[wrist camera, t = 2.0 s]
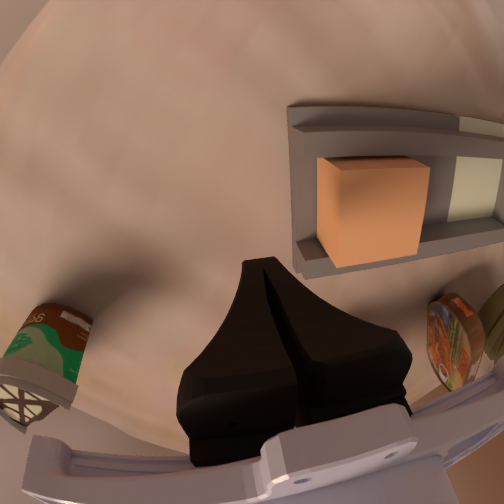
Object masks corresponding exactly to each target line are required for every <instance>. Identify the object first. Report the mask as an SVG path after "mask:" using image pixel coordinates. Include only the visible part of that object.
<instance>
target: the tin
mask: <svg viewBox="0 0 504 504" xmlns="http://www.w3.org/2000/svg"><path fill="white" fill-rule="evenodd" d="M485 341H486V340H485V332H484V328H483V325H482V322H481V320H480V318H479V316H478V314H477V313H476V311H475V310H473V308H472V307H471V306H470V305H469V304H468V303H467V302H466V301H465V300H464V299H463V298H462V297H460V296H459V295H458V294H456V293H448V294H446V295H444V296H442V297H441V298H439V299H438V300H436V301H433V302H432V303H430V305H429V307H428V327H427V353H428V357H429V360H430V363H431V365H432V368H433V370H434V372H435V374H436V375H437V377H438V379H439V380H440V382H441V383H442V385H443V386H444V387H445V388H446V389H447V390H448V391H449V392H452V391H454V390H456V389H458V388H460V387H462V386H464V385H466V384H468V383H470V382H472V381H474V379H475V376H476V373H477V370H478V367H479V364H480V361H481V358H482V354H483V351H484V348H485Z"/></svg>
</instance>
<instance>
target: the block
mask: <svg viewBox="0 0 504 504" xmlns="http://www.w3.org/2000/svg"><path fill="white" fill-rule="evenodd" d="M429 175H430V167H428V166H426V165H424V164H422V163H420V162H418V161H416V160H414V159H412V158H410V157H408V156H406V155H379V156H348V157H328V158H317V238H318V240H319V241H320V243H321V244H322V246H323V248H324V249H325V251H326V252H327V254H328V255H329V257H330V259H331V260H332V262H333V263H334V265H335V267H336V268H340V267H346V266H352V265H358V264H364V263H370V262H375V261H381V260H387V259H393V258H398V257H404V256H409V255H415V254H417V250H418V245H419V240H420V235H421V229H422V224H423V218H424V212H425V205H426V199H427V191H428V183H429Z"/></svg>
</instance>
